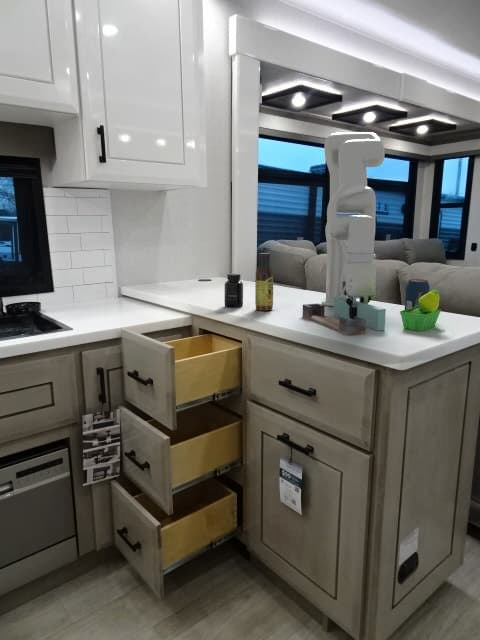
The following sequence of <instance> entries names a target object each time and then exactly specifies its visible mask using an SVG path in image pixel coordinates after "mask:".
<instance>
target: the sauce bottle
mask: <svg viewBox="0 0 480 640" xmlns="http://www.w3.org/2000/svg"><path fill="white" fill-rule="evenodd" d="M270 259H271V253H269V252H259V253H258V268H257V269H256V272H255V287H254V288H255V289H254V290H255V293H254V294H255V297H254V298H255V302H254V303H255V310H256V311H258V312H259V311H261V312H267V311H272V310H273V307H274V275H273V274H274V273H273V271H272V268H271V260H270Z"/></svg>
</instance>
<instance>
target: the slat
mask: <svg viewBox="0 0 480 640" xmlns="http://www.w3.org/2000/svg"><path fill="white" fill-rule="evenodd" d="M356 307H357V317H360V318H363V319H366V328H369V329H372V330H375V331H385V330H386V313H387V311H386V310H387V309H386V308H383V307H380V306H376V305H373V304H369V303H368V304H366V303H362V302H359V301H357V300H356ZM332 311H333V316H336V317H338V318H345V319H348V320H353V319H350V318H349V306H348V304H347V303H346V302H345V301H343V300H341V299H340V298H339V297H334V306H333V310H332Z"/></svg>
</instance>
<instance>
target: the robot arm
mask: <svg viewBox="0 0 480 640" xmlns="http://www.w3.org/2000/svg"><path fill="white" fill-rule="evenodd" d="M323 150H324V159H325V162H326V166H327V169H328V173H329V202H328V204H327V209H326V216H327V217H326V220H327V222H326V225H325V231H324V232H325V239H326V279H325V280H326V284H325V288H326V289H325V299H322V300H321V305H324V306H328V307H334V297H339V298H340V299H341V300H343V301H345V302H346V303H347V304H348V306H349V318H350V319H353V320H354V317H356V316H357V307H356V301H357V299H359V301H358V302H362V303H366V304H369V303H370V301H371V300H373V299H375V298H376V297H377V293H376V289H377V271H376V265H375V263H374V259H376V258H377V255H376V253H375V252H374V250H375V249H374V248H375V236H376V215H377V214H376V209H377V206H376V204H377V201H376V193H375V191H374V189H373V188H372V187H369V186H368V178H367V176H368V175H367V168H378V167H381V166H382V165H383V163H384V160H385V153H386V151H385V145H384V143H383V140H382V139H381V138H380V137H379V136H378V134H376V133H374V132H371V131H369V132H368V131H367V132H366V131H365V132H364V131H361V132H360V131H359V132H352V131H351V132H350V131H349V132H348V131H346V132H345V131H344V132H335V133H331V134H329V135H328V136H327V137H326V138H325V141H324V149H323Z"/></svg>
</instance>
